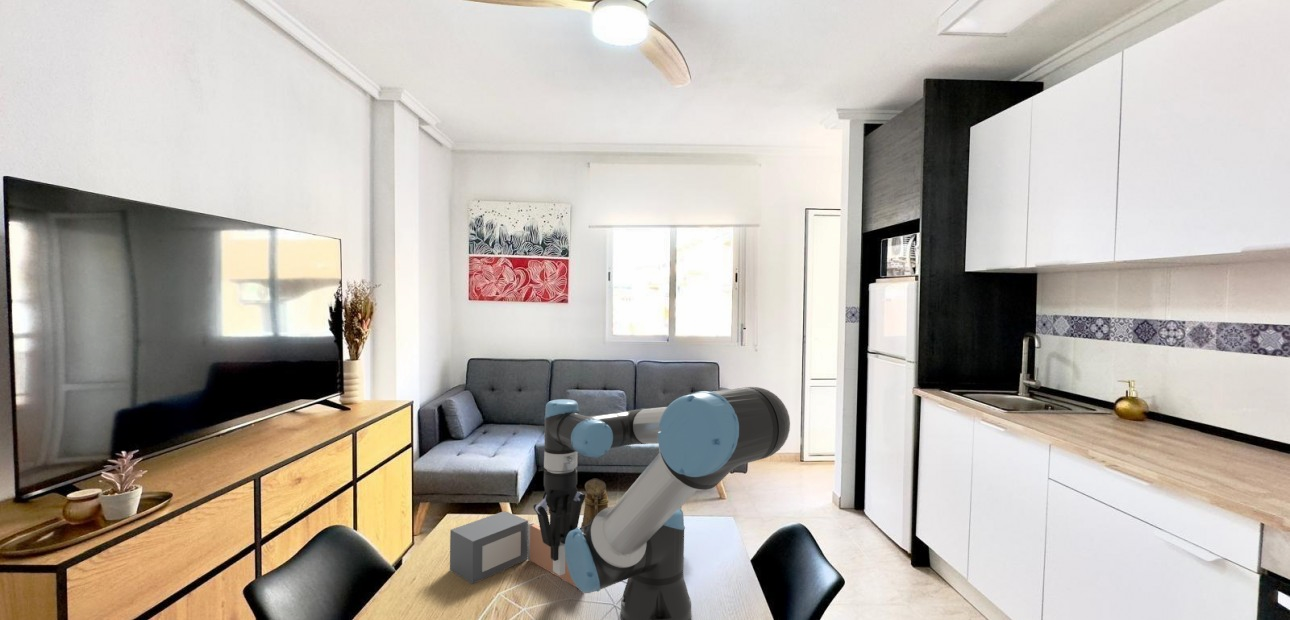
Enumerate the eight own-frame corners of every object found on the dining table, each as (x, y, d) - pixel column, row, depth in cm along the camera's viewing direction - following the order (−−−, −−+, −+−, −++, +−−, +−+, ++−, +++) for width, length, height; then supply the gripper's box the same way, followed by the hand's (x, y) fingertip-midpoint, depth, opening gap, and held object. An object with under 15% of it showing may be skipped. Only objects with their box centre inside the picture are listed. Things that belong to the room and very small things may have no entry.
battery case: (528, 559, 132) (528, 520, 132) (473, 584, 119) (474, 541, 119) (504, 547, 138) (504, 510, 138) (449, 570, 126) (450, 529, 126)
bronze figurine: (577, 542, 142) (578, 478, 142) (582, 523, 155) (582, 464, 155) (609, 542, 142) (610, 478, 142) (611, 522, 156) (612, 464, 156)
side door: (531, 556, 132) (531, 522, 132) (586, 587, 118) (586, 548, 118) (526, 558, 131) (526, 523, 131) (580, 590, 116) (581, 551, 116)
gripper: (545, 479, 108) (543, 589, 108) (593, 466, 117) (591, 568, 117) (526, 470, 114) (525, 575, 114) (574, 459, 123) (572, 556, 123)
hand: (558, 572), depth 115 cm, fingers closed
